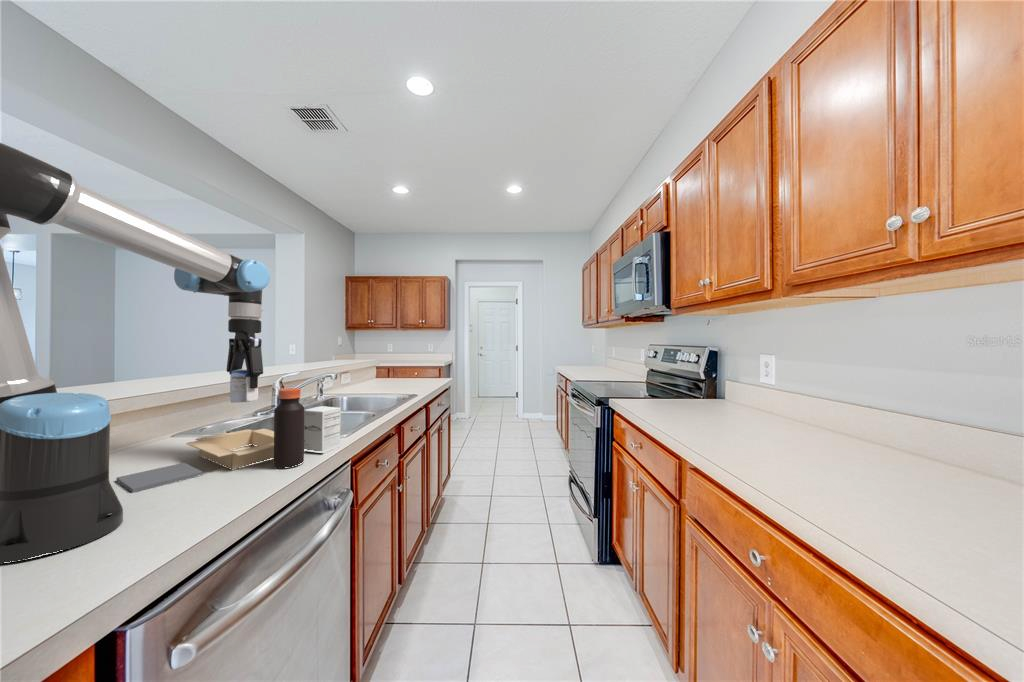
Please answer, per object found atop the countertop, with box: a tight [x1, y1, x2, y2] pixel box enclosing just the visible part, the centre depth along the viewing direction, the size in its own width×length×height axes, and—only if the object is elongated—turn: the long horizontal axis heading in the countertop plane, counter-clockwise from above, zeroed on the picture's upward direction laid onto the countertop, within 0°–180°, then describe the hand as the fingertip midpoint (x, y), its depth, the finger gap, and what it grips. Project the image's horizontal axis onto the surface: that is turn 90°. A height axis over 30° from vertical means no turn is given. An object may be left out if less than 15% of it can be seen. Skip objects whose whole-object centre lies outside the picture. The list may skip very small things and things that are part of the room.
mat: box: [116, 462, 203, 493], centre depth 85 cm, size 12×12×1 cm
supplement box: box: [304, 405, 342, 451], centre depth 108 cm, size 7×7×13 cm
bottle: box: [273, 387, 305, 469], centre depth 95 cm, size 7×7×20 cm
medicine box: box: [230, 368, 250, 403], centre depth 102 cm, size 8×4×9 cm, turn 25°
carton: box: [185, 428, 274, 470], centre depth 102 cm, size 26×19×4 cm
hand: (243, 398), depth 102 cm, fingers closed on medicine box, 9 cm apart
